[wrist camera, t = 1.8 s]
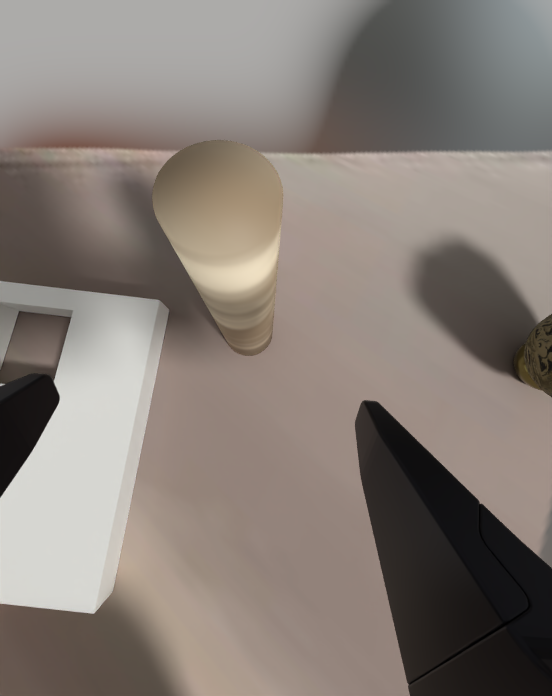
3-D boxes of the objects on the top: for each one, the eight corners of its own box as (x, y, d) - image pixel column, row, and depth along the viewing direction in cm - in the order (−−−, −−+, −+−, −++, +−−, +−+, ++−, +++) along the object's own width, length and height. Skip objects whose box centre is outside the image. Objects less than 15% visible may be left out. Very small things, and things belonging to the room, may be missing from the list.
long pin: (269, 358, 21) (275, 260, 7) (222, 352, 21) (139, 245, 7) (274, 313, 22) (289, 148, 8) (229, 308, 22) (165, 132, 8)
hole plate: (113, 591, 18) (94, 613, 16) (-87, 569, 18) (-131, 589, 16) (169, 310, 21) (159, 300, 20) (5, 290, 21) (-21, 278, 19)
